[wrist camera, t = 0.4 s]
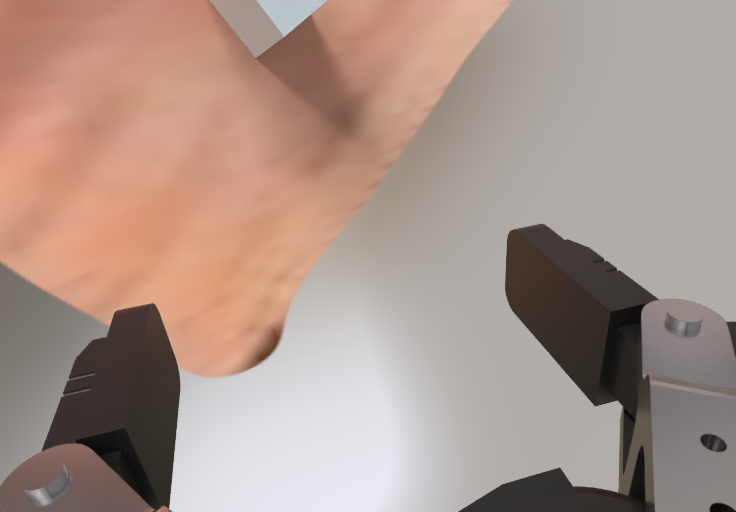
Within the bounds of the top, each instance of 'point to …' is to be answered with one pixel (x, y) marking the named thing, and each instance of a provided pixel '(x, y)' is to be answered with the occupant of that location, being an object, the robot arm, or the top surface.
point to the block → (264, 19)
